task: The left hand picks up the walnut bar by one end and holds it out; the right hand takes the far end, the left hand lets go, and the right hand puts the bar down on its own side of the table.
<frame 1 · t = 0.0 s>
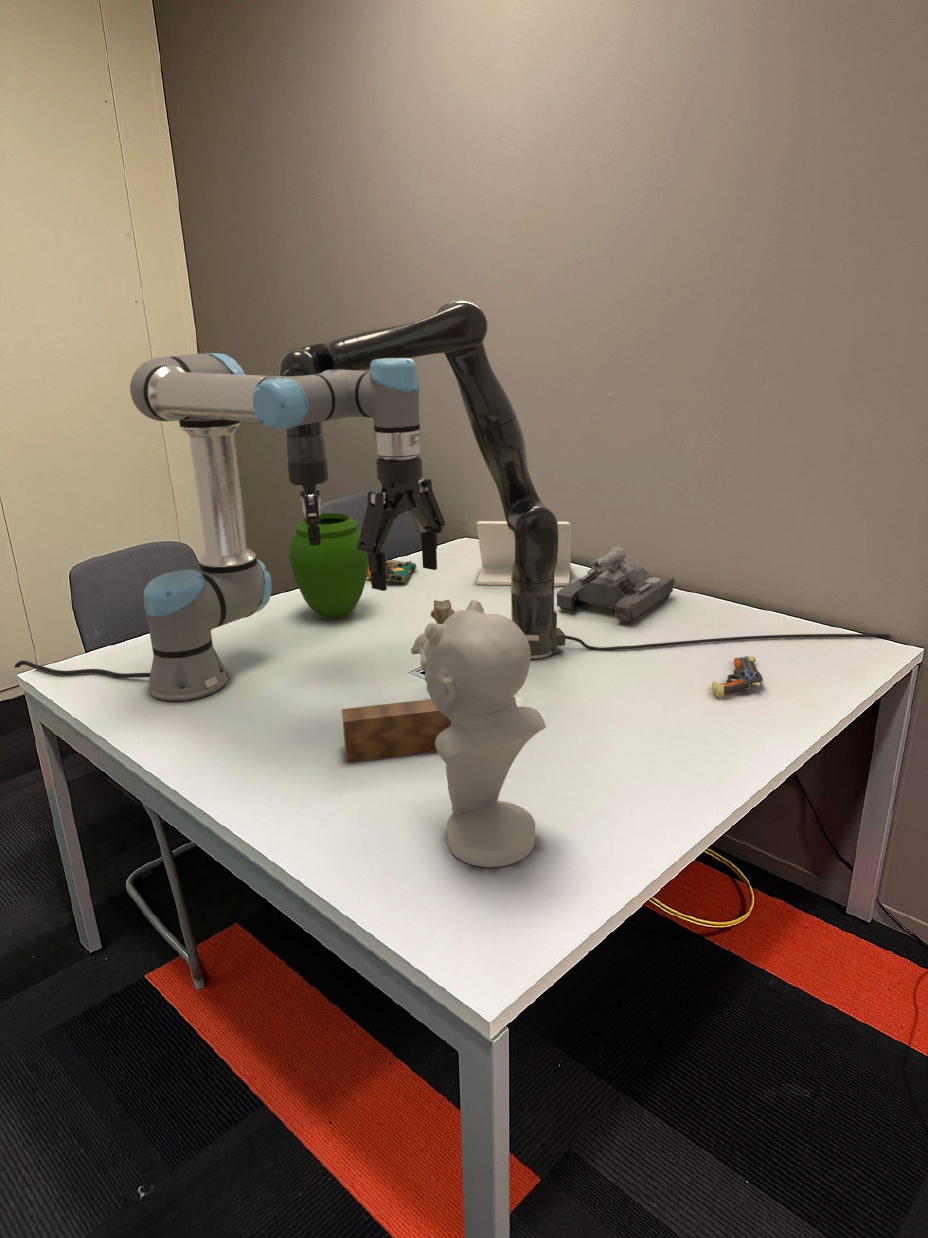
left hand: (405, 578, 148), 28 cm above the table, tool pointing down, fingers open, 13 cm apart
right hand: (314, 539, 170), 29 cm above the table, tool pointing down, fingers open, 8 cm apart
bar: (418, 747, 149), on the table
spray gun: (393, 576, 242), on the table
toy: (615, 605, 214), on the table
toy gun: (734, 680, 171), on the table
sculpture: (445, 671, 180), on the table
vase: (334, 614, 214), on the table
bust sculpture: (470, 832, 125), on the table
tablet stand: (525, 575, 239), on the table
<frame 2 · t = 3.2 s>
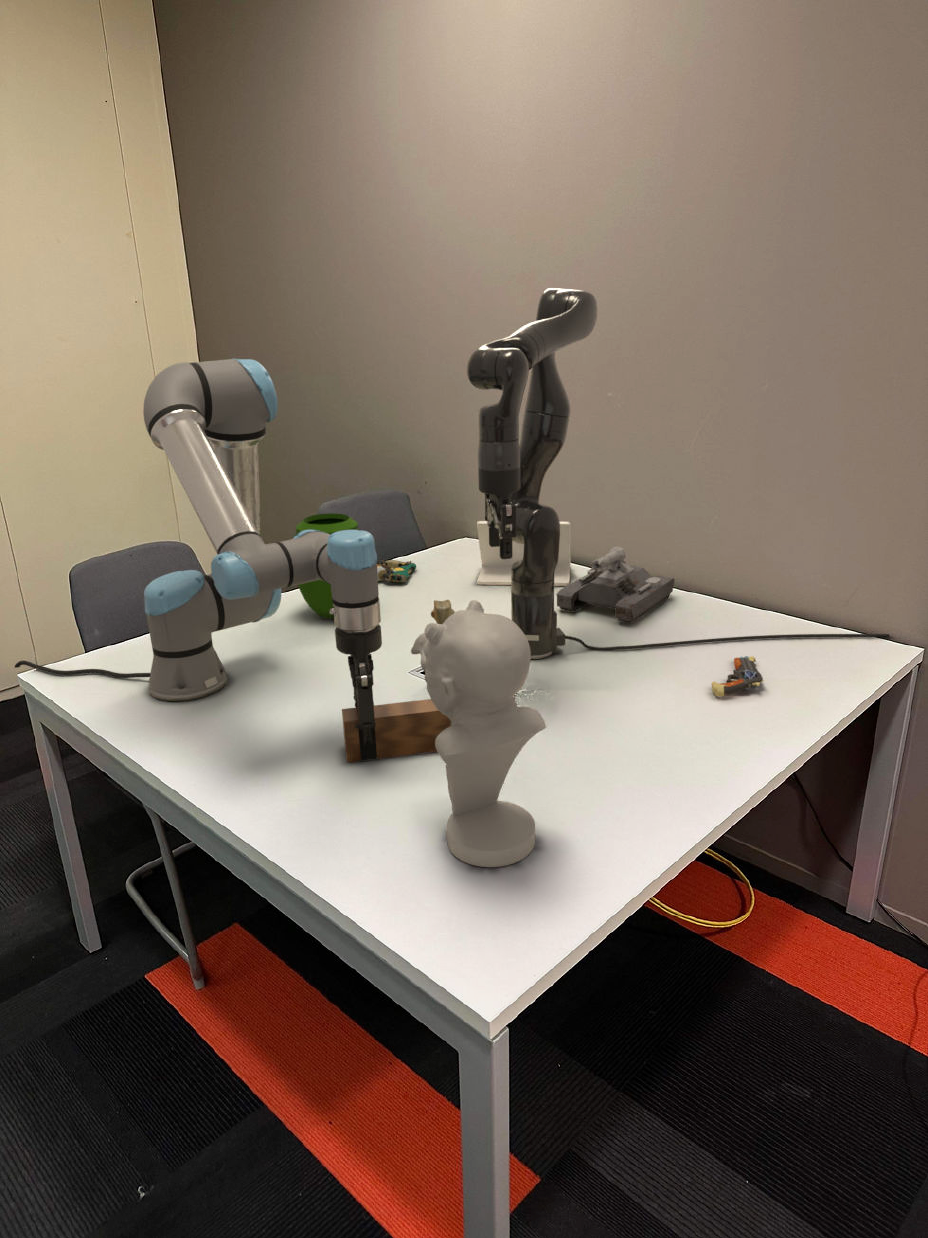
left hand: (367, 750, 148), 1 cm above the table, tool pointing down, fingers closed on bar, 5 cm apart
right hand: (500, 552, 158), 29 cm above the table, tool pointing down, fingers open, 8 cm apart
bar: (418, 747, 149), on the table, touching left hand
everything else where it was.
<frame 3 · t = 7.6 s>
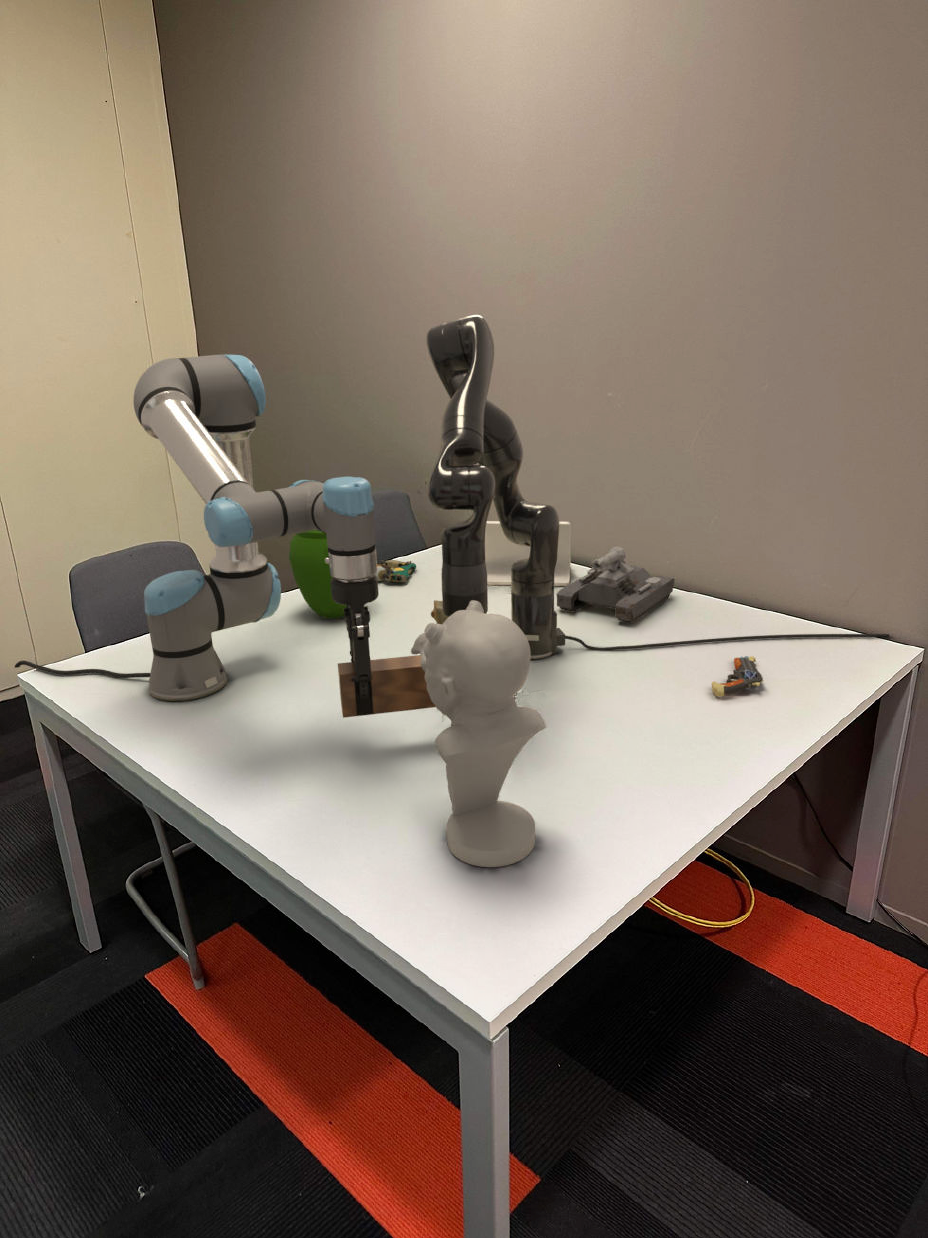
left hand: (363, 706, 145), 9 cm above the table, tool pointing down, fingers closed on bar, 5 cm apart
right hand: (467, 679, 147), 12 cm above the table, tool pointing down, fingers closed on bar, 4 cm apart
bar: (416, 703, 146), point 9 cm above the table, touching right hand, left hand
everything else where it was.
when the left hand's fingers open (9 cm above the table, at t = 8.4 s): bar stays where it is, held by the right hand.
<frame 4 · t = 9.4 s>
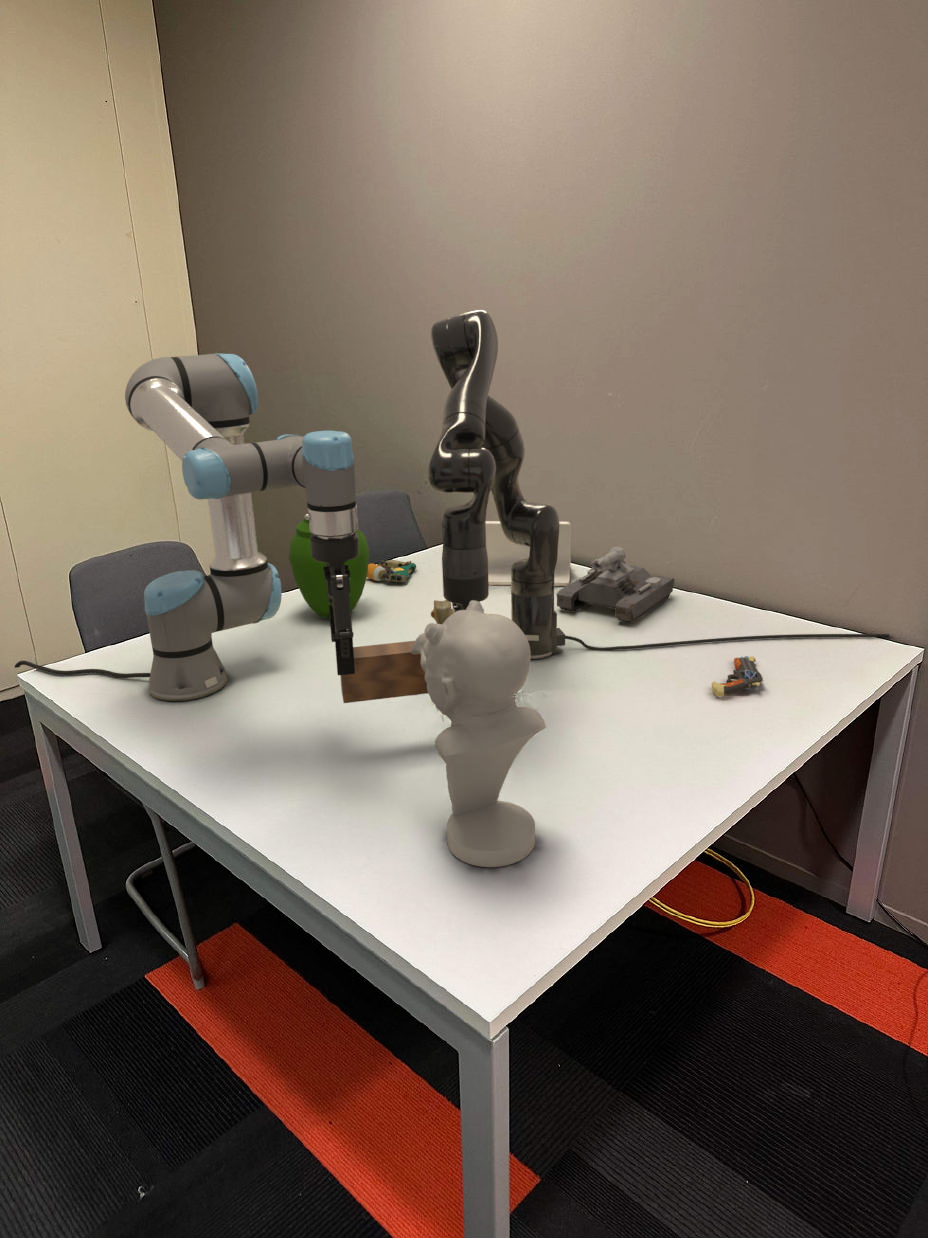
left hand: (342, 656, 141), 18 cm above the table, tool pointing down, fingers open, 13 cm apart
right hand: (468, 664, 146), 15 cm above the table, tool pointing down, fingers closed on bar, 4 cm apart
bar: (417, 688, 145), point 11 cm above the table, touching right hand
everything else where it was.
when the right hand's fingers open (5 cm above the table, at t = 13.1 s): bar drops 1 cm, on the table.
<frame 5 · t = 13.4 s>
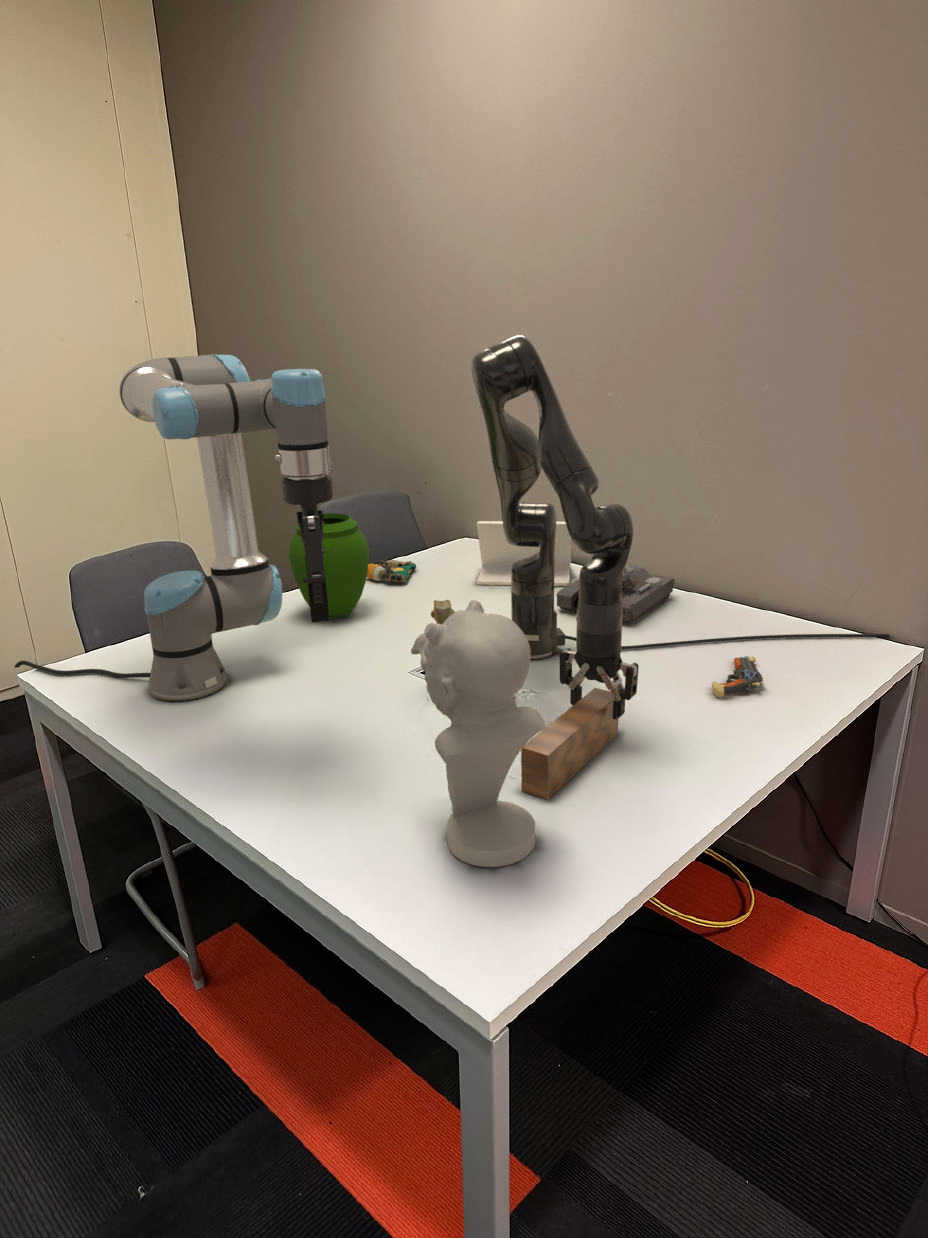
left hand: (318, 606, 137), 28 cm above the table, tool pointing down, fingers open, 13 cm apart
right hand: (596, 712, 148), 5 cm above the table, tool pointing down, fingers open, 7 cm apart
bar: (572, 760, 144), on the table
everything else where it was.
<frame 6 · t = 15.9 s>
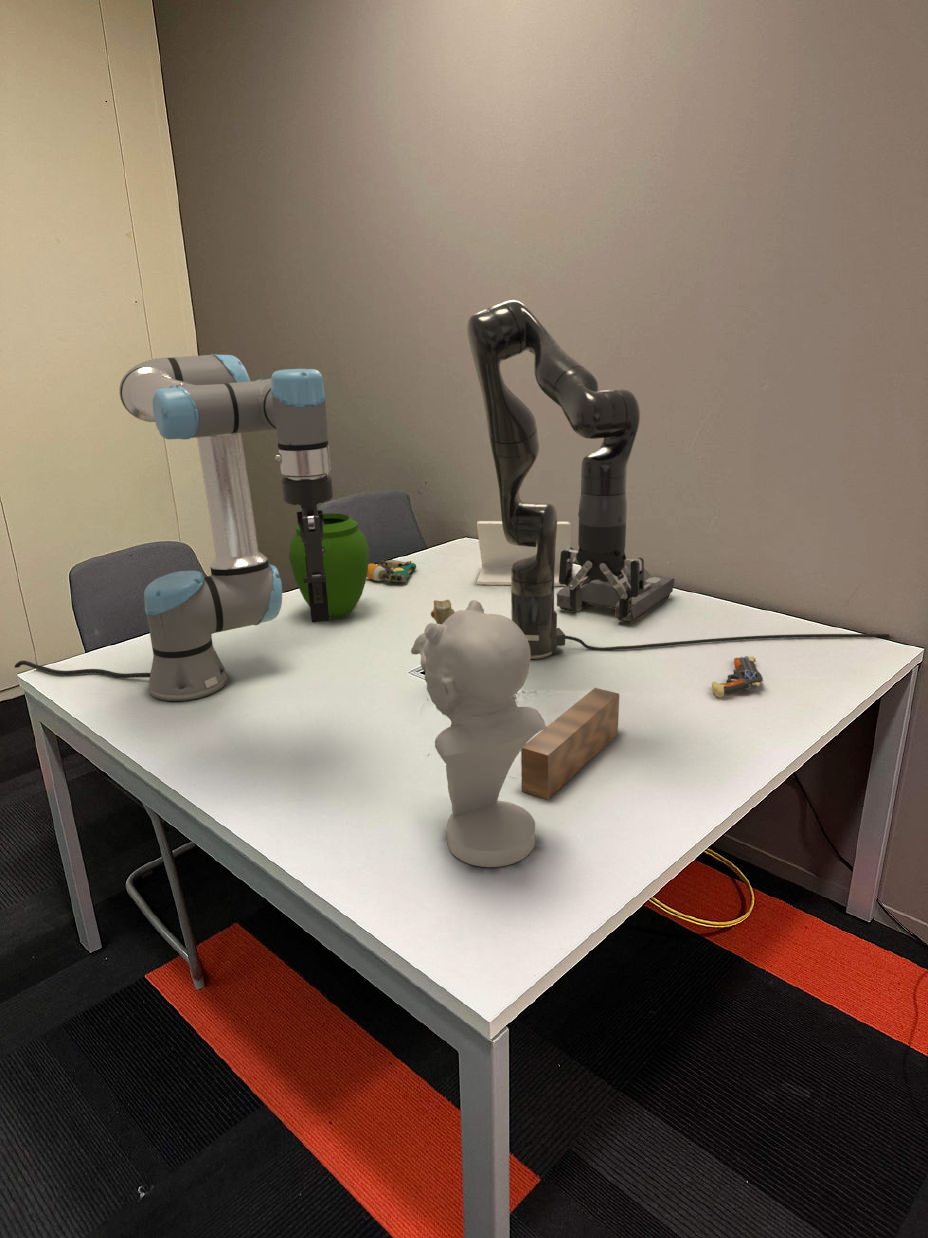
left hand: (318, 606, 137), 28 cm above the table, tool pointing down, fingers open, 13 cm apart
right hand: (599, 614, 142), 24 cm above the table, tool pointing down, fingers open, 8 cm apart
nothing on the table moved.
at the end: bar inside the target area (8.8 cm from its centre), on the table; the left hand is holding nothing; the right hand is holding nothing; bar at rest at the end (0.0 cm/s) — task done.
